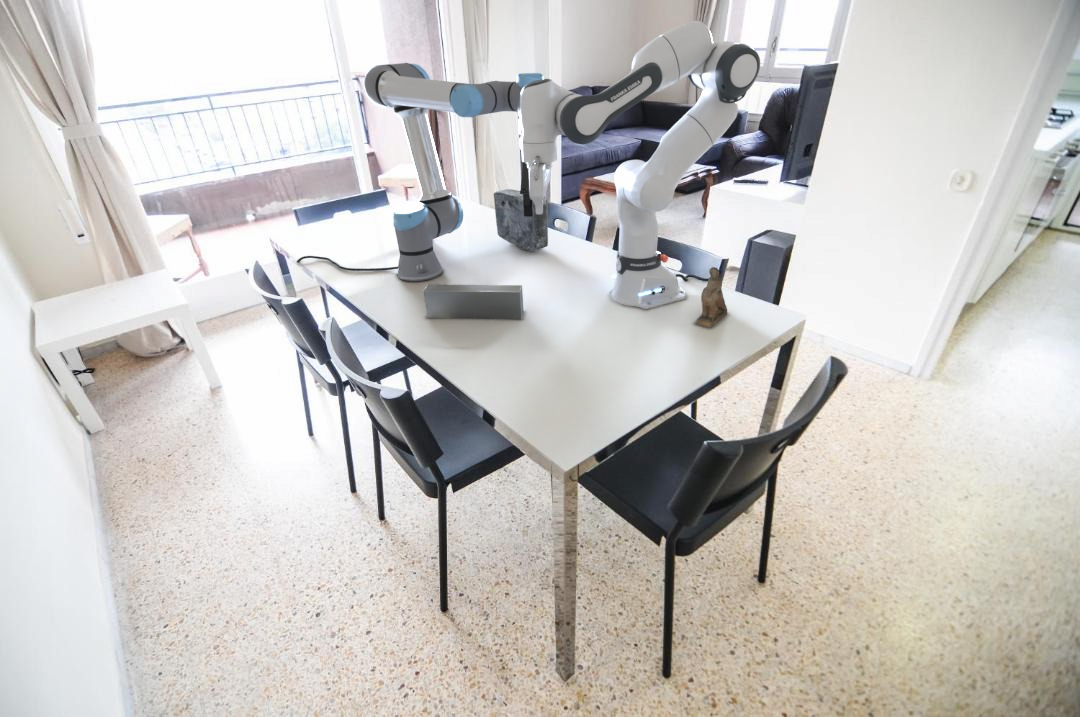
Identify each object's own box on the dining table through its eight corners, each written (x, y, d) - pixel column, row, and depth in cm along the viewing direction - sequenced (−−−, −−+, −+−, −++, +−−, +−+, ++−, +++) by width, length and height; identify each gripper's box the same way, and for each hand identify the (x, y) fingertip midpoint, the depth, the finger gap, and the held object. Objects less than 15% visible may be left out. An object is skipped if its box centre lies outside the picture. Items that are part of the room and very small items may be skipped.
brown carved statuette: (709, 335, 136) (713, 280, 124) (691, 329, 139) (693, 274, 128) (730, 313, 142) (736, 258, 130) (712, 307, 145) (716, 253, 133)
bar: (427, 317, 146) (423, 291, 142) (432, 310, 150) (427, 284, 146) (521, 319, 143) (519, 292, 139) (523, 312, 147) (522, 285, 143)
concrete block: (553, 252, 189) (552, 199, 179) (534, 258, 185) (532, 204, 175) (514, 236, 208) (511, 187, 198) (496, 241, 204) (492, 191, 193)
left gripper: (533, 142, 131) (535, 222, 142) (555, 129, 151) (556, 200, 162) (506, 142, 133) (510, 221, 144) (531, 129, 153) (533, 199, 164)
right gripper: (548, 160, 116) (550, 219, 123) (554, 146, 133) (555, 199, 140) (521, 161, 116) (524, 220, 124) (531, 147, 134) (533, 199, 141)
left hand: (534, 210), depth 153 cm, fingers open, 13 cm apart
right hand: (541, 208), depth 132 cm, fingers open, 8 cm apart
